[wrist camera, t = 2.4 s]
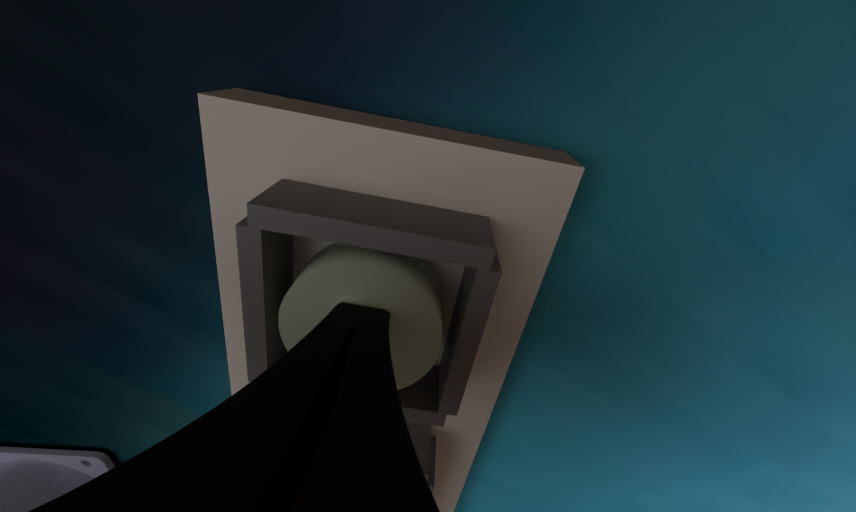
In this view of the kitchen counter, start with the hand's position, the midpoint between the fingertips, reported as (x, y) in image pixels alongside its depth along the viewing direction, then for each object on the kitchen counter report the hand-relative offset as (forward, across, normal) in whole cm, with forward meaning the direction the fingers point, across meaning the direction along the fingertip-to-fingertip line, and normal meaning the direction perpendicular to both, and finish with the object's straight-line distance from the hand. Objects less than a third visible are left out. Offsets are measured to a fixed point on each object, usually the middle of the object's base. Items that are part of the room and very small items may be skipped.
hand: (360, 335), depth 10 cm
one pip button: (+1, 0, 0) cm, 1 cm away
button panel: (+4, 0, +9) cm, 10 cm away
